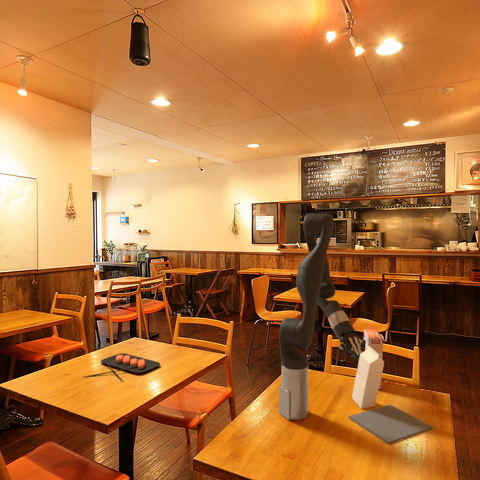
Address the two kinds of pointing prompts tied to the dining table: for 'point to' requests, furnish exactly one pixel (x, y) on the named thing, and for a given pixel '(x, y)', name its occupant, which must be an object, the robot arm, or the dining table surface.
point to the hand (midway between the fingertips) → (363, 365)
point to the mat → (390, 423)
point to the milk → (368, 378)
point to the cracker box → (374, 344)
